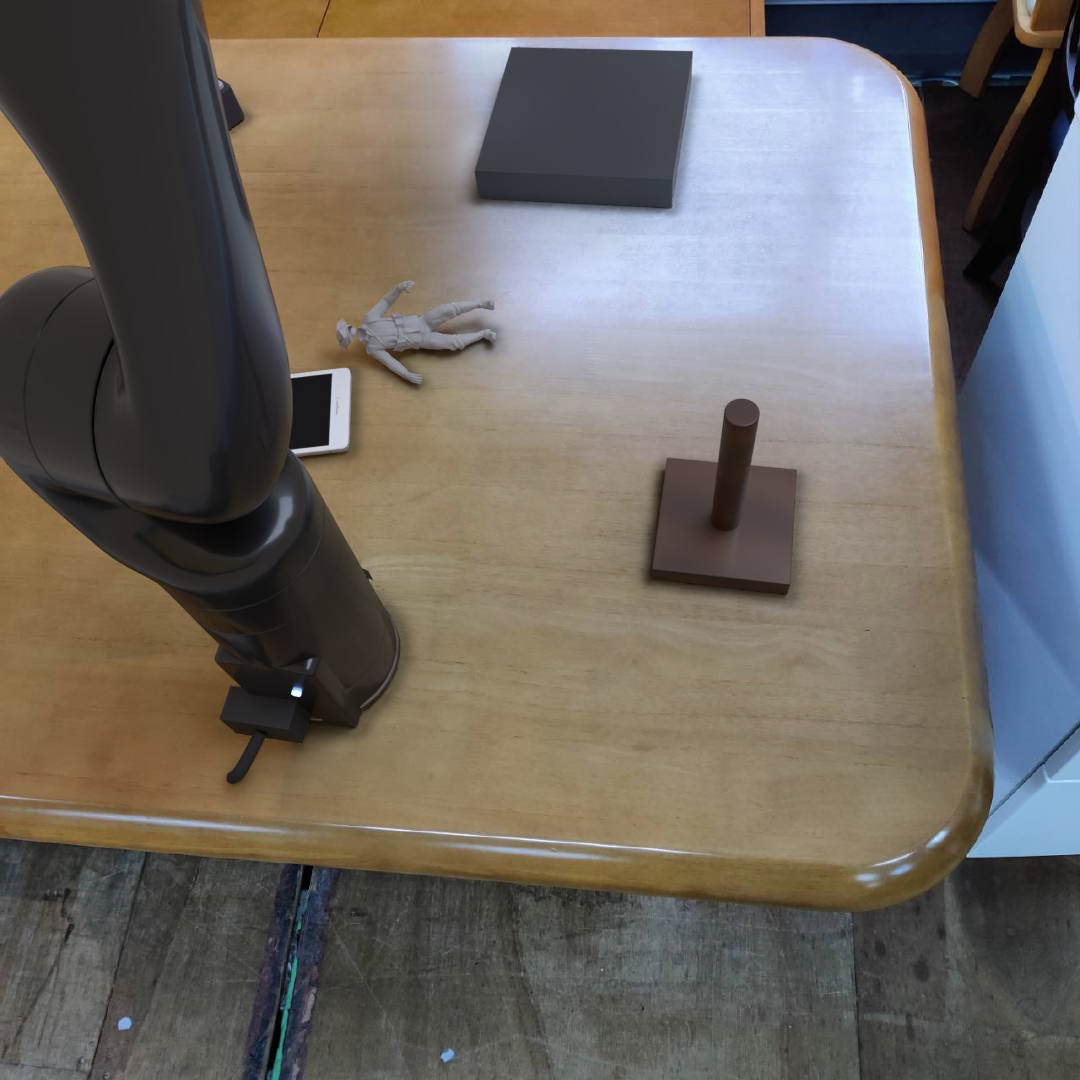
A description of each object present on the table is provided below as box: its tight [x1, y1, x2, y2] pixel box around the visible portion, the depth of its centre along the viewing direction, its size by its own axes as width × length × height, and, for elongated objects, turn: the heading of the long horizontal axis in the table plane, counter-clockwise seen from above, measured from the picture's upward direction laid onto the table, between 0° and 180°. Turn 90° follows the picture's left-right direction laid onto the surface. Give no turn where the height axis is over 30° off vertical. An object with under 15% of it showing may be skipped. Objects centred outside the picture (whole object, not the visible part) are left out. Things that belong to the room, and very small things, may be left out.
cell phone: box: [288, 367, 353, 458], centre depth 74 cm, size 8×16×1 cm, turn 94°
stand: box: [474, 46, 694, 209], centre depth 85 cm, size 17×17×3 cm
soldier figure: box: [335, 280, 497, 385], centre depth 75 cm, size 8×5×12 cm
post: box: [651, 397, 798, 595], centre depth 60 cm, size 9×9×14 cm
